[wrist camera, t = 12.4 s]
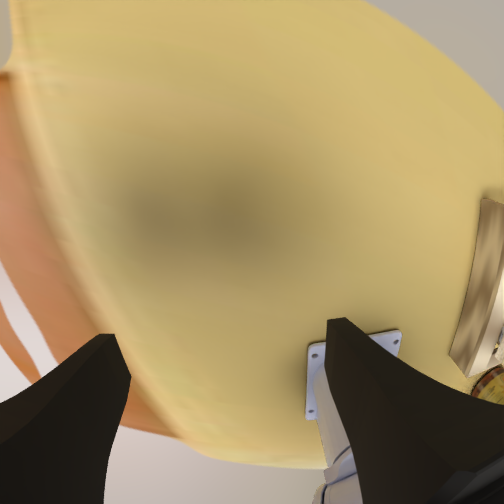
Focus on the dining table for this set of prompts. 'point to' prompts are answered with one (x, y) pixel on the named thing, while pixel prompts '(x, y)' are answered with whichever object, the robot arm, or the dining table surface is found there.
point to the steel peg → (500, 347)
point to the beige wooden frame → (483, 297)
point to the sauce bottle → (491, 387)
